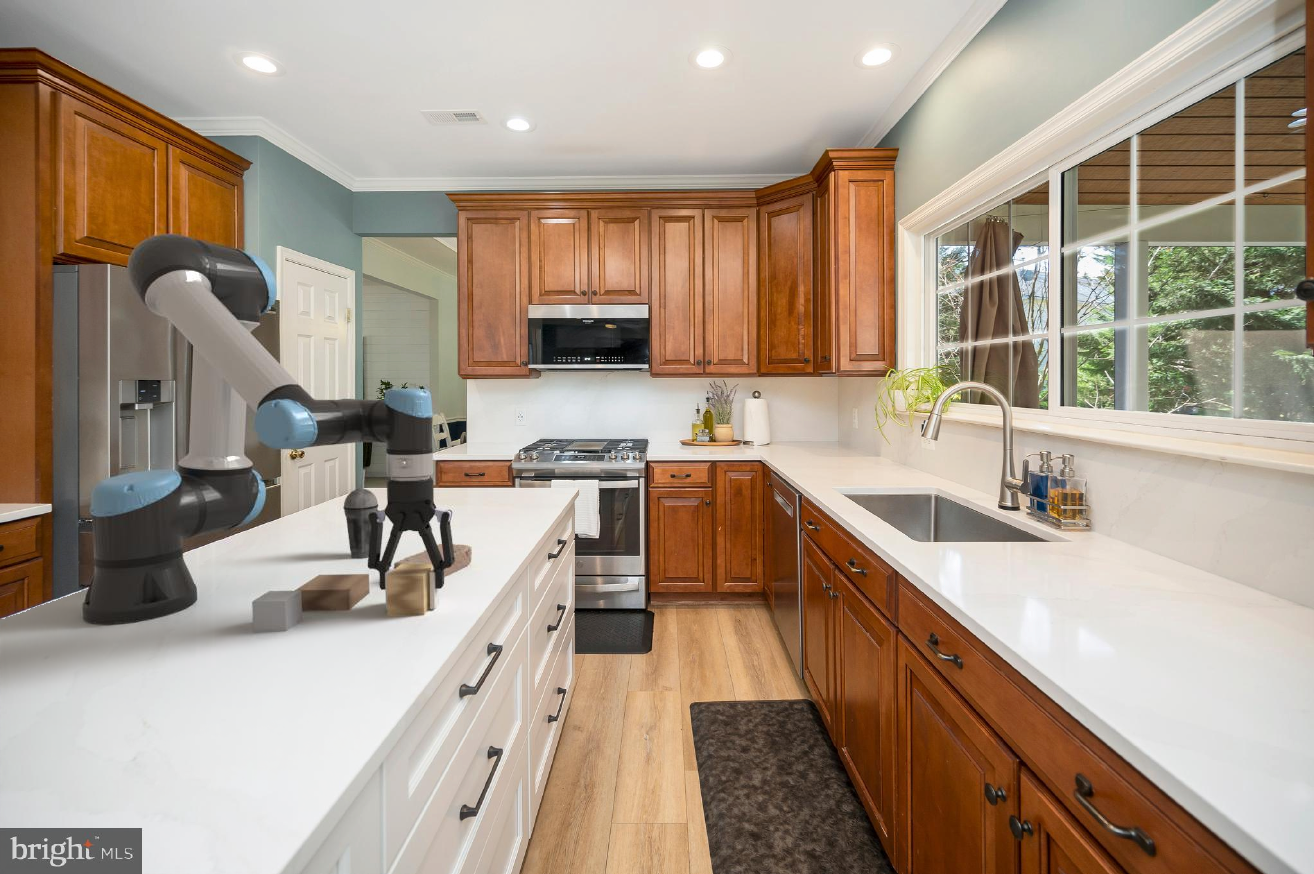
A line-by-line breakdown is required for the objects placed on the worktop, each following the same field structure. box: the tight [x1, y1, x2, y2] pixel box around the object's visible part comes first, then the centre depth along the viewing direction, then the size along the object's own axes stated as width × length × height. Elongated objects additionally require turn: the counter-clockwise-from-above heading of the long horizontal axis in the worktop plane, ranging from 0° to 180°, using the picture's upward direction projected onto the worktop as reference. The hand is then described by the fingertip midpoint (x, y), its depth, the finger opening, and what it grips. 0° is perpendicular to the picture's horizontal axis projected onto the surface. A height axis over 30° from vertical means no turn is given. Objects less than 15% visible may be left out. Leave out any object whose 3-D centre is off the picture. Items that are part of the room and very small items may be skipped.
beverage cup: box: [343, 469, 379, 559], centre depth 139 cm, size 7×7×20 cm
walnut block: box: [294, 573, 370, 612], centre depth 110 cm, size 9×9×4 cm
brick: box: [392, 543, 473, 578], centre depth 127 cm, size 17×8×5 cm, turn 165°
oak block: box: [387, 564, 434, 617], centre depth 107 cm, size 6×7×7 cm
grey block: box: [251, 590, 303, 633], centre depth 98 cm, size 5×5×5 cm
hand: (412, 606), depth 107 cm, fingers open, 7 cm apart
